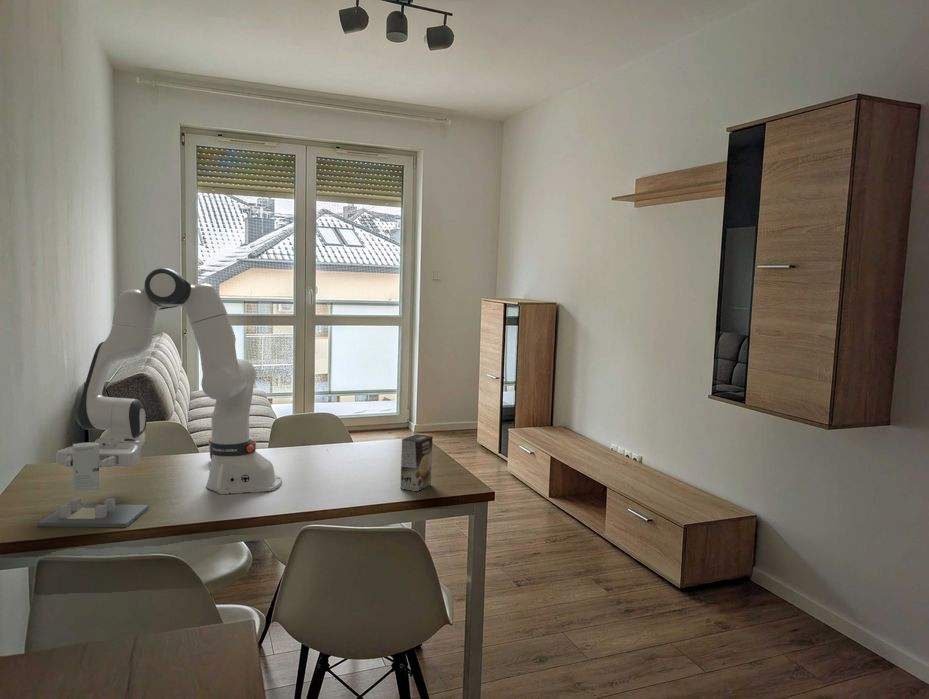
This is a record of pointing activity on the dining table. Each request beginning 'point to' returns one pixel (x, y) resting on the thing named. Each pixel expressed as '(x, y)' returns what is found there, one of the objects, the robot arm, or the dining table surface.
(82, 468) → the skincare box
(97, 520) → the board
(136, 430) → the robot arm
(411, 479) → the coffee box
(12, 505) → the dining table surface
